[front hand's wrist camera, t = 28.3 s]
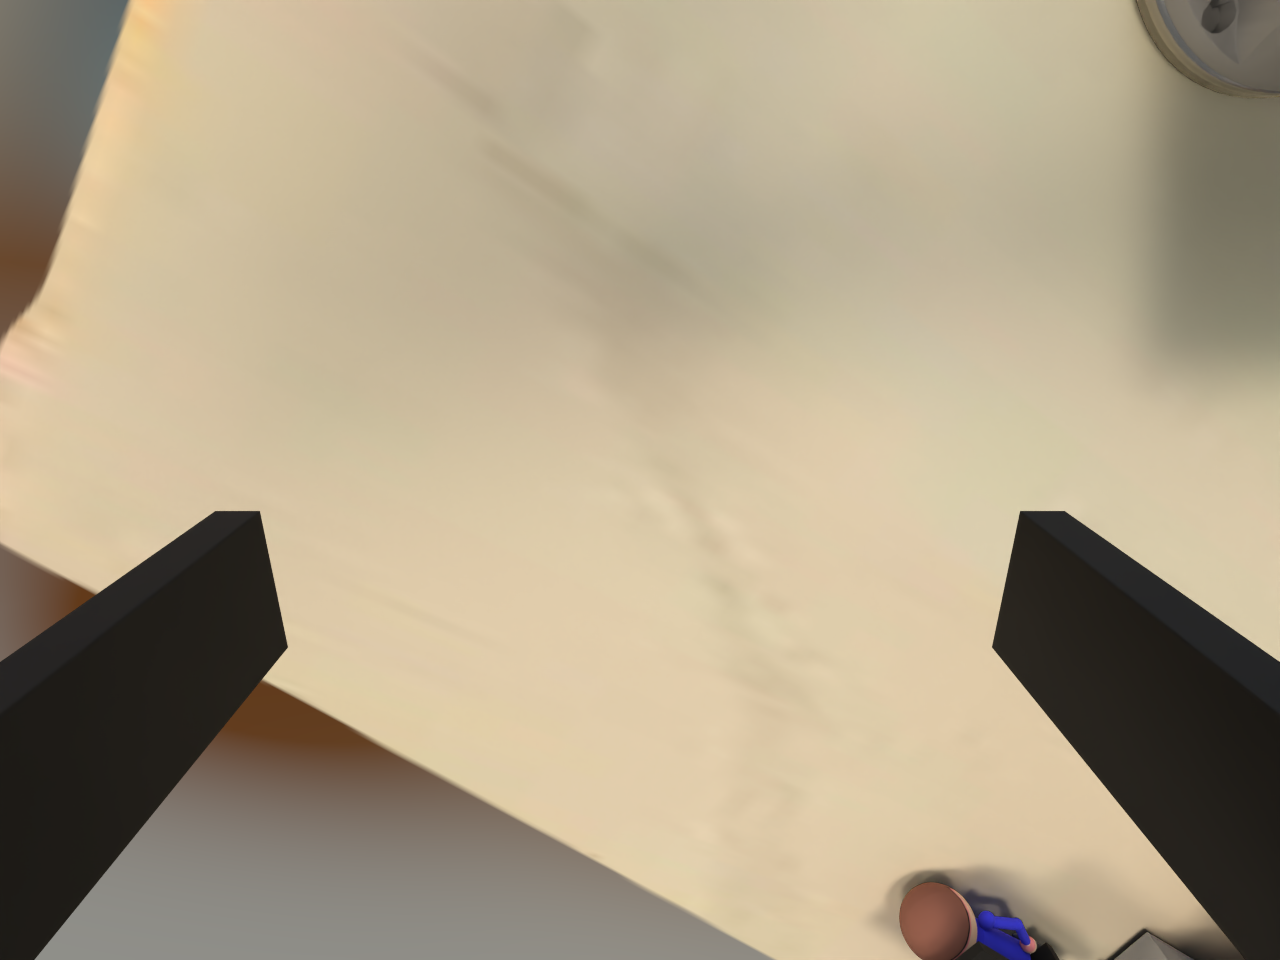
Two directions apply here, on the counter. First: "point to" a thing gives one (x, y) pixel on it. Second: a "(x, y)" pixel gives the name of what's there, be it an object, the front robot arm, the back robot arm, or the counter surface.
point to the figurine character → (962, 929)
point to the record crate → (1151, 950)
